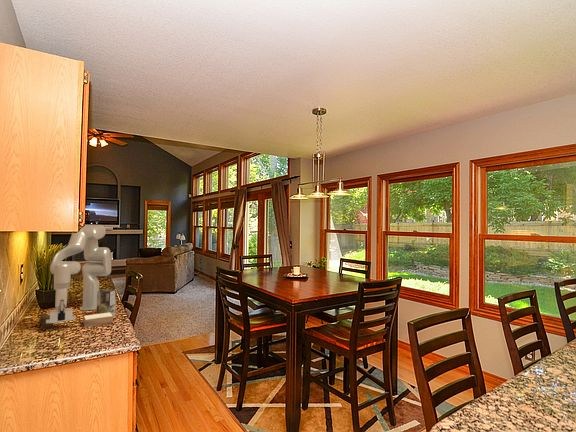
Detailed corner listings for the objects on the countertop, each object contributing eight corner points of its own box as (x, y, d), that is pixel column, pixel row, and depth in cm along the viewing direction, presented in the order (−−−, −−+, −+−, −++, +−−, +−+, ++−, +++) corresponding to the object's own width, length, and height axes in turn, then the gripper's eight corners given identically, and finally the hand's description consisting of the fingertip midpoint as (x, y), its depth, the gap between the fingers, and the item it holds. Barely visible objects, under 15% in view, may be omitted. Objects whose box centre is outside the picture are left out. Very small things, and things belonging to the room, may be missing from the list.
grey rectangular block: (35, 331, 174) (41, 320, 191) (57, 329, 179) (61, 319, 196) (36, 320, 174) (42, 310, 192) (58, 318, 179) (62, 309, 196)
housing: (46, 321, 175) (46, 310, 175) (75, 317, 183) (75, 307, 183) (46, 323, 170) (46, 313, 170) (75, 319, 178) (76, 309, 178)
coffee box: (116, 315, 206) (116, 289, 206) (109, 317, 199) (110, 291, 200) (102, 314, 206) (103, 289, 207) (95, 317, 200) (96, 291, 201)
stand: (83, 323, 187) (83, 315, 187) (110, 319, 195) (110, 312, 196) (84, 327, 180) (84, 319, 180) (112, 323, 188) (112, 315, 188)
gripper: (53, 284, 182) (52, 316, 181) (53, 289, 168) (52, 324, 167) (69, 282, 186) (68, 313, 186) (71, 287, 172) (70, 321, 172)
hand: (61, 318), depth 176 cm, fingers closed on housing, 6 cm apart
